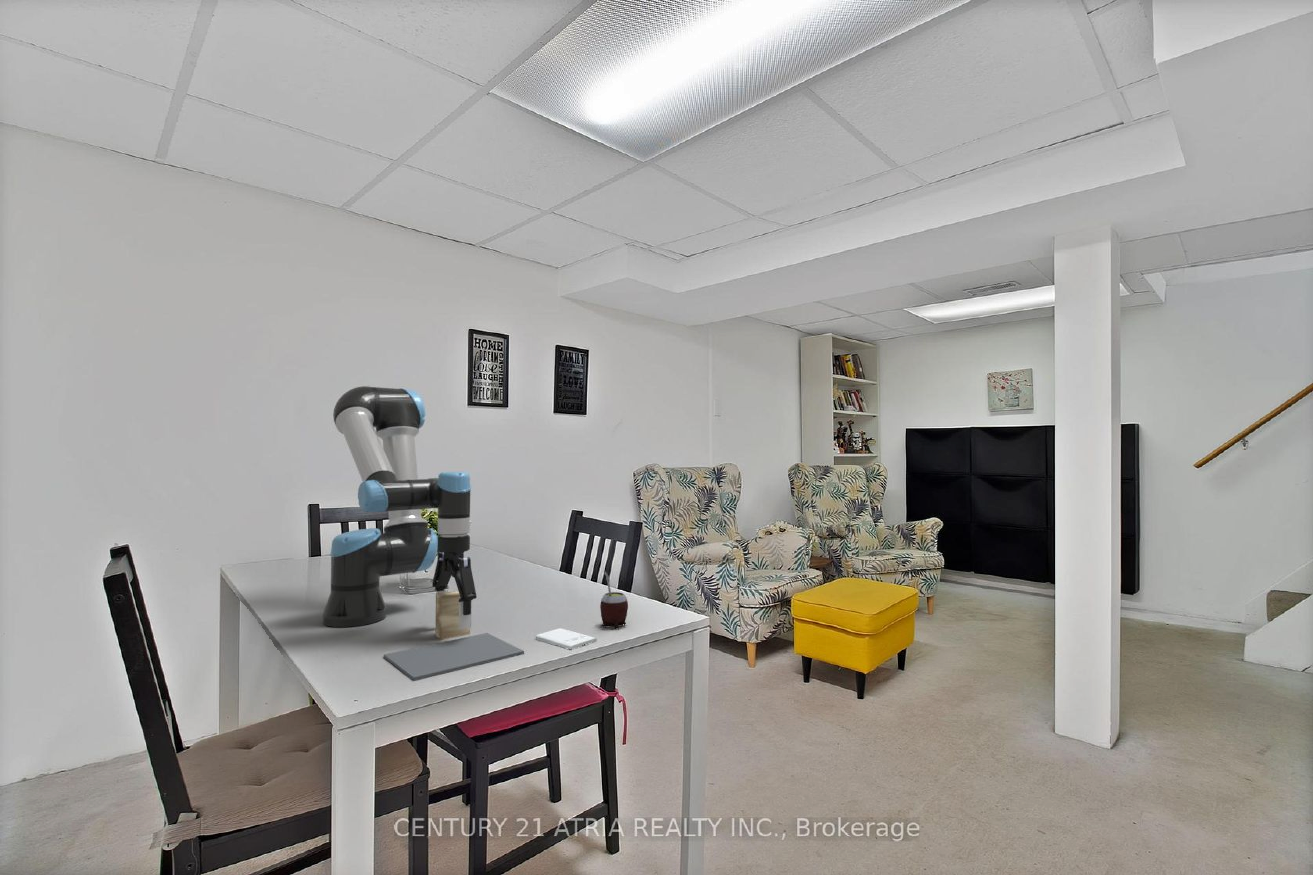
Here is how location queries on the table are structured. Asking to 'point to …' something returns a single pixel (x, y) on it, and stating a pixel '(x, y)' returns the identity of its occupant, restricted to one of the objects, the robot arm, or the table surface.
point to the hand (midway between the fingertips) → (453, 622)
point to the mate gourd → (613, 607)
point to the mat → (451, 655)
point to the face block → (448, 616)
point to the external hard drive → (565, 638)
